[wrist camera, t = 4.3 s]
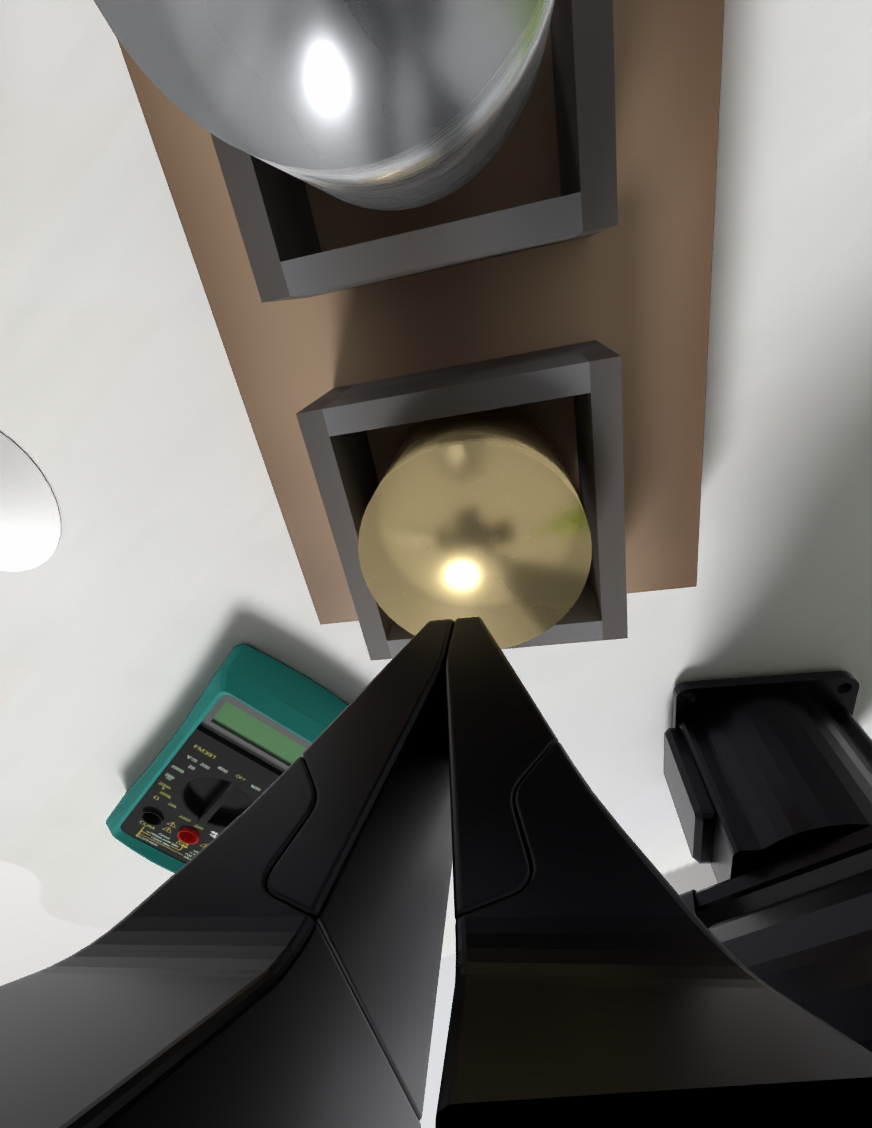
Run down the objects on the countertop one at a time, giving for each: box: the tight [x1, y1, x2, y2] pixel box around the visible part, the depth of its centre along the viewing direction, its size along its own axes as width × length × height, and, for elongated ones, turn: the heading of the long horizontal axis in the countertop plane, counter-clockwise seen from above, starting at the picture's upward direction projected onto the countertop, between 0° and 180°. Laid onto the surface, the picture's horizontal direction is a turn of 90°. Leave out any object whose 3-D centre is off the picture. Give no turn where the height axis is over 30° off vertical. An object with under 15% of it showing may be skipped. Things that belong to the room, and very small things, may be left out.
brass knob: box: [358, 406, 592, 649], centre depth 13 cm, size 5×5×4 cm
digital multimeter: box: [106, 645, 348, 873], centre depth 26 cm, size 7×15×3 cm, turn 142°
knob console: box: [117, 0, 724, 660], centre depth 13 cm, size 12×17×6 cm
